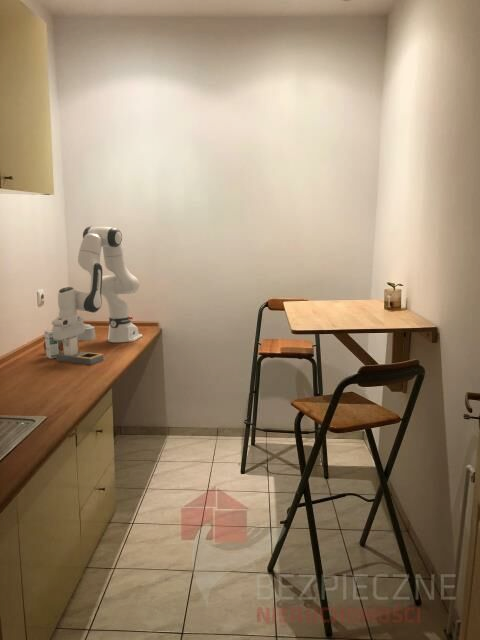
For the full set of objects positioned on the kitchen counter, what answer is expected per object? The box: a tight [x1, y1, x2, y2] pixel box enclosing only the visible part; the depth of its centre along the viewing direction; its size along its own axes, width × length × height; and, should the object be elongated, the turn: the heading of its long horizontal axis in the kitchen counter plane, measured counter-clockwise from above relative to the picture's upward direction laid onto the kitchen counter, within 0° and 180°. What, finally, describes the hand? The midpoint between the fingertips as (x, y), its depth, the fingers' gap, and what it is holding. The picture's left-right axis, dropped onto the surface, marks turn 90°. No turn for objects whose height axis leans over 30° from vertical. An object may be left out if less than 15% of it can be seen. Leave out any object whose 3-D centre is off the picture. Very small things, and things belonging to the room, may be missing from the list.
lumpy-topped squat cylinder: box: [77, 323, 96, 342], centre depth 325 cm, size 10×13×9 cm
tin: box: [43, 340, 64, 352], centre depth 295 cm, size 15×3×8 cm, turn 143°
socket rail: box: [56, 351, 105, 366], centre depth 276 cm, size 10×22×3 cm, turn 66°
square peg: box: [63, 337, 79, 356], centre depth 278 cm, size 5×5×9 cm
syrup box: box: [43, 329, 62, 359], centre depth 282 cm, size 6×6×14 cm
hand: (70, 345), depth 278 cm, fingers closed on square peg, 5 cm apart
